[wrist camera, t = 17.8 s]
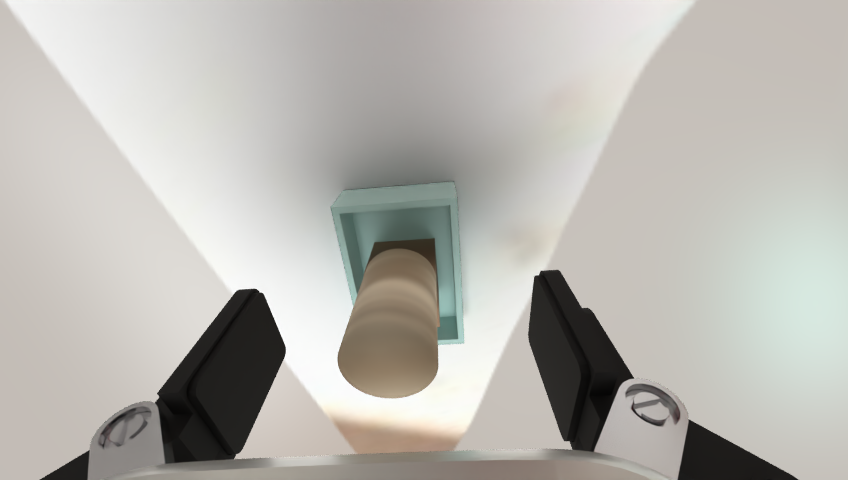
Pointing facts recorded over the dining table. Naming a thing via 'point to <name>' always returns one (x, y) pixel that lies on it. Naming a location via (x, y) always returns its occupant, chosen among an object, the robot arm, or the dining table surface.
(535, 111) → the dining table surface
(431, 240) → the walnut cube
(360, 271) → the tote
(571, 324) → the robot arm
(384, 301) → the beech dowel
